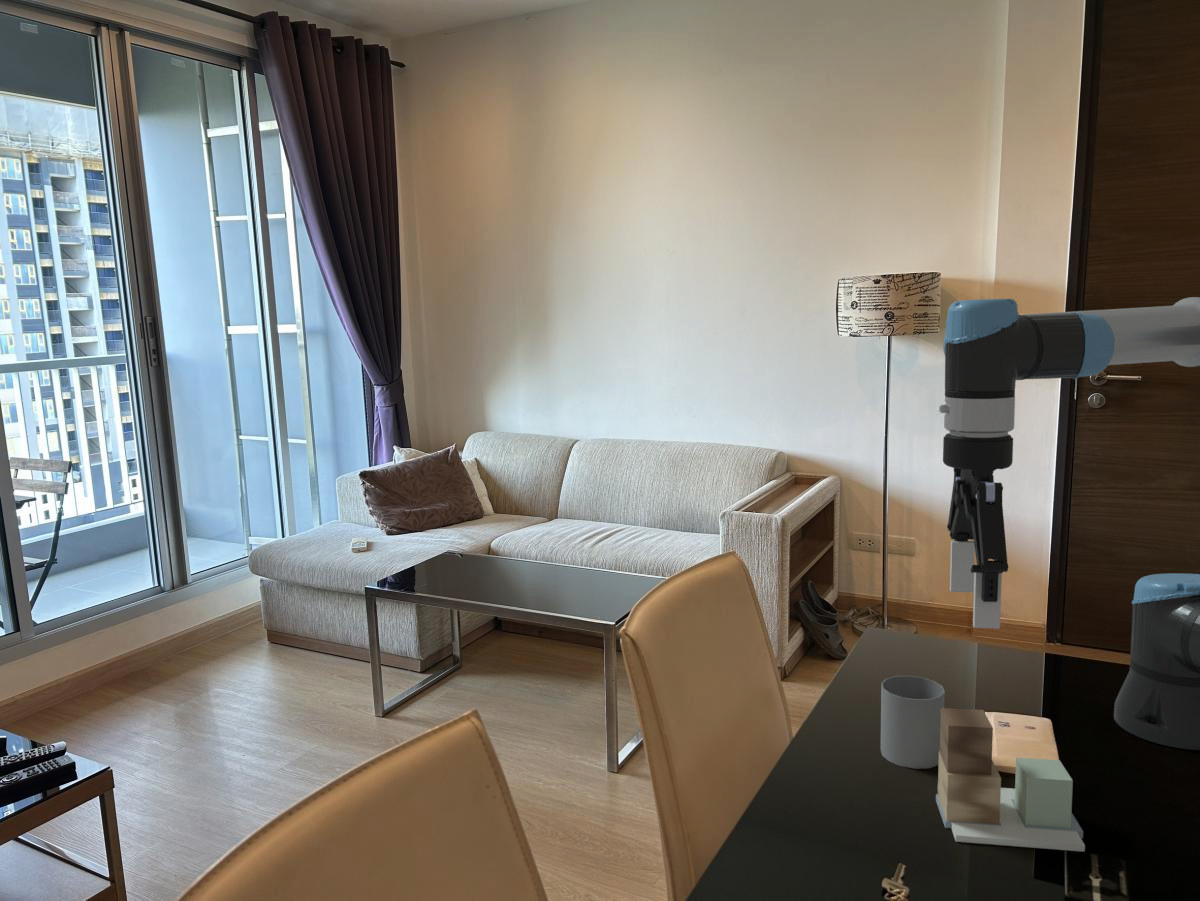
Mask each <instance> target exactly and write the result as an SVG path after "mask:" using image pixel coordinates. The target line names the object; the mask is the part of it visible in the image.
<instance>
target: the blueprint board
mask: <svg viewBox="0 0 1200 901" xmlns="http://www.w3.org/2000/svg"><path fill="white" fill-rule="evenodd" d="M935 802H936V805H937V807H938V811H939V813H940V816H941V820H942V822H943V825H944V828H945V829H951V831H952V834H953V835H952V836H953V838H954V840H955V842H957V843H958V842H959V843H968V844H969V843H970V844H982V845H995V846H1006V847H1007V846H1008V847H1009V846H1010V847H1019V848H1020V847H1021V848H1034V849H1047V850H1059V851H1072V852H1083V853H1084V852H1086V851H1085V850H1086V845H1085V843H1084V841H1083V839H1084V831H1083V829H1082V827H1081V826H1080V824H1079V822H1078V820H1077V818H1076V817H1075V815H1074V814H1073V813H1072V811H1071V828H1064V827H1051V826H1037V825H1025V823H1024V821H1023V819H1022V817H1021V815H1020V813H1019V811H1018V808H1017V806H1016V804H1015V788H1011V787H1010V788H1009V787H1001V794H1000V825H998V824H985V823H971V822H957V821H947V820H946V817H945V814H944V811H943V808H942V805H941V803H940V800H939V797H938V793H936V794H935Z"/></svg>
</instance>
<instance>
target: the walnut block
mask: <svg viewBox="0 0 1200 901" xmlns="http://www.w3.org/2000/svg"><path fill="white" fill-rule="evenodd" d="M987 716H988V715H987V714H986V713H985V711H984V709H968V708H966V709H965V708H949V707H944V708H941V724H940V755H941V757H942V760H943V762H944V765H945V768H946V770H947V772H948V773H963V774H979V775H991V772H992V761H993V740H994V739H993V734H994V732H993V731H994V727H993V725H992V723H991V722H990V720H989V718H988V717H987Z"/></svg>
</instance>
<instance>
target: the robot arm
mask: <svg viewBox="0 0 1200 901" xmlns="http://www.w3.org/2000/svg"><path fill="white" fill-rule="evenodd" d="M1018 311H1019V310H1018V303H1017V301H1016V300H1015V299H1012V298H989V299H988V298H987V299H986V298H985V299H984V298H983V299H965V300H961V299H960V300H957V301H954V302H953V303H951V304H950V305H949V307H948V309H947V315H946V320H945V334H944V335H945V336H944V338H943V345H942V346H943V354H944V402H945V404H941V405H939V413H941V414H944V420H943V422H944V423H943V427H944V429H945V430H947V431H949V433H946V434H945V436H943V439H942V440H943V441H942V442H943V444H942V462H943V464H944V465H946V466H947V467H950V468H953V484H952V491H951V492H952V493H951V499H950V505H949V514H948V521H947V526H946V528H947V530H948V532H949V537H950V539H951V540H950V568H949V591H950V592H951V593H973V608H972V609H973V610H972V612H973V613H972V626H973V628H974V629H998V630H999V629H1001V610H1002V608H1001V606H1002V604H1001V603H1002V578H1003V577H1002V576H1003V575H1002V574H1003V573H1008V570H1009V564H1008V555H1007V554H1008V553H1007V543H1006V542H1007V540H1006V530H1005V520H1004V508H1003V490H1004V487H1003V484H1002V482H995V480H994V479H995V478H994V472H995V471H997V470H1003V469H1004V470H1005V469H1008V468H1009V467H1011V466H1012V464H1013V462H1014V461H1013V456H1014V455H1013V454H1014V437H1012V435H1011V434H1009V432H1011V431H1013V430H1014V429H1015V409H1016V402H1015V401H1016V395H1015V394H1016V381H1025V380H1049V379H1050V380H1051V379H1072V380H1076V379H1078V378H1082V377H1083V378H1084V377H1092V376H1095V375H1096V376H1097V375H1098V374H1100V373H1101V372H1103V371H1104V370H1105V369H1106V368H1107V367H1108V366H1116V365H1118V366H1119V365H1126V364H1127V365H1130V364H1143V363H1162V362H1163V363H1164V362H1173V363H1176V364H1177V365H1179V366H1180V367H1181V366H1182V367H1187V368H1195V367H1200V296H1195V297H1194V296H1192V297H1191V296H1190V297H1186V298H1183V299H1180V300H1178V301H1177V302H1175V303H1174V304H1173V305H1163V306H1162V305H1161V306H1148V307H1146V306H1145V307H1130V308H1115V309H1114V308H1113V309H1112V308H1111V309H1110V308H1109V309H1095V310H1094V309H1093V310H1092V309H1091V310H1077V311H1058V312H1045V313H1044V312H1041V313H1028V314H1027V313H1026V314H1025V313H1024V314H1023V313H1022V314H1019V312H1018ZM975 559H976V564H975ZM1130 628H1131V633H1130V659H1129V660H1130V663H1129V664H1130V665H1129V671H1128V673H1127V676H1126V677H1125V679H1124V682H1123V683H1122V686H1121V688H1120V690H1119V691H1118V695H1116V696H1117V697H1116V699H1115V702H1114V708H1113V710H1114V711H1113V719H1114V721H1115V722H1116V724H1117V725H1118V726H1119V727H1121V728H1122V729H1123V730H1125V731H1126V732H1128V733H1130V734H1131V735H1134V736H1135V737H1138V738H1140V739H1143V740H1146V741H1148V742H1151V743H1155V744H1158V745H1162V746H1166V747H1171V748H1174V749H1175V748H1177V749H1182V750H1190V751H1191V750H1192V751H1200V574H1199V573H1179V572H1178V573H1174V572H1173V573H1172V572H1171V573H1167V572H1166V573H1154V574H1150V575H1145V576H1142V577H1141V578H1138V580H1137V582H1136V583H1135V586H1134V594H1133V600H1131V627H1130Z"/></svg>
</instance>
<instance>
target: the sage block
mask: <svg viewBox="0 0 1200 901" xmlns="http://www.w3.org/2000/svg"><path fill="white" fill-rule="evenodd" d="M1014 777H1015V780H1014V782H1015V784H1014V789H1015V804H1016V806H1017V808H1018V811H1019V813H1020V815H1021V817H1022V819H1023V821H1024V823H1025V825H1037V826H1051V827H1064V828H1071V812H1072V810H1073V809H1072V807H1073V787H1074V786H1073V784H1074V783H1073V782H1074V781H1073V778H1072V777H1071V776H1070V774H1069V772H1068V771H1067V769H1066V768H1065V766H1064V765H1063V763H1062V762H1061V760H1060V759H1059V760H1058V759H1046V758H1045V759H1044V758H1031V757H1030V758H1028V757H1016V758H1015V775H1014Z"/></svg>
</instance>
